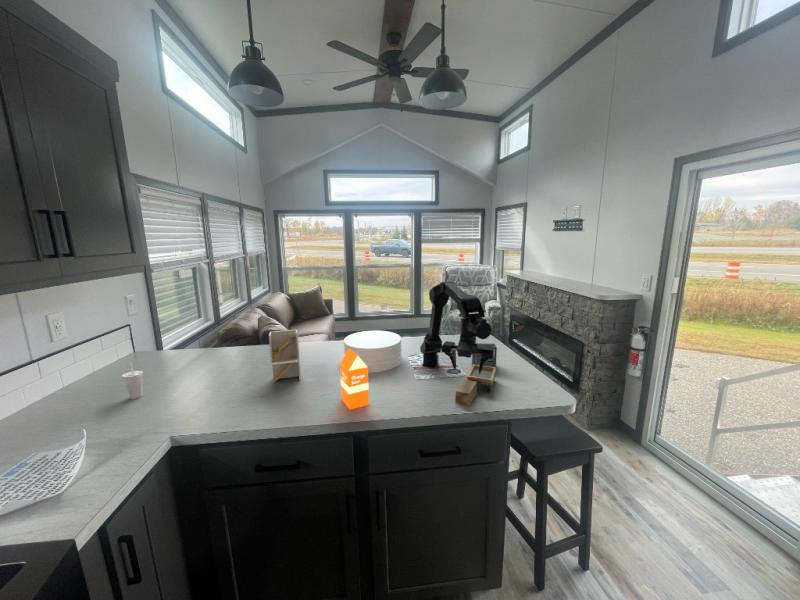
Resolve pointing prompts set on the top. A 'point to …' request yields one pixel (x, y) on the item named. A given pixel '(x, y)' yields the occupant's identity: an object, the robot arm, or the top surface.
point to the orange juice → (354, 380)
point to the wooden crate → (285, 354)
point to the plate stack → (375, 349)
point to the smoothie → (133, 383)
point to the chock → (466, 392)
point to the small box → (477, 357)
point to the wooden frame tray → (482, 375)
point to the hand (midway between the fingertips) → (467, 371)
